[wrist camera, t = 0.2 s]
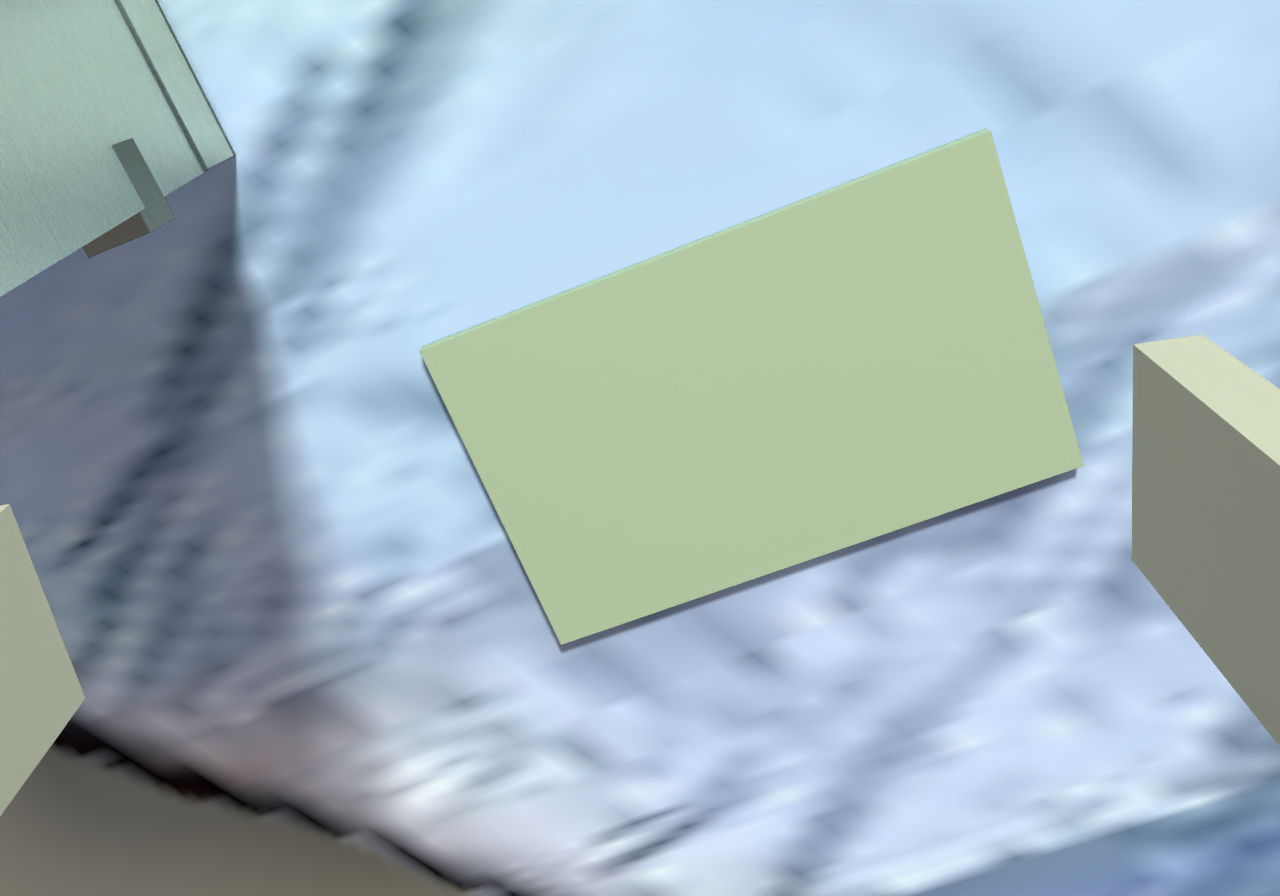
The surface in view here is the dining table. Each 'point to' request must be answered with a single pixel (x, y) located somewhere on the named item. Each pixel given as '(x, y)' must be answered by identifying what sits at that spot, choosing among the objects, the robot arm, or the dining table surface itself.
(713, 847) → the dining table surface
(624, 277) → the mat
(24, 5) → the case
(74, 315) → the dining table surface
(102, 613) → the dining table surface
